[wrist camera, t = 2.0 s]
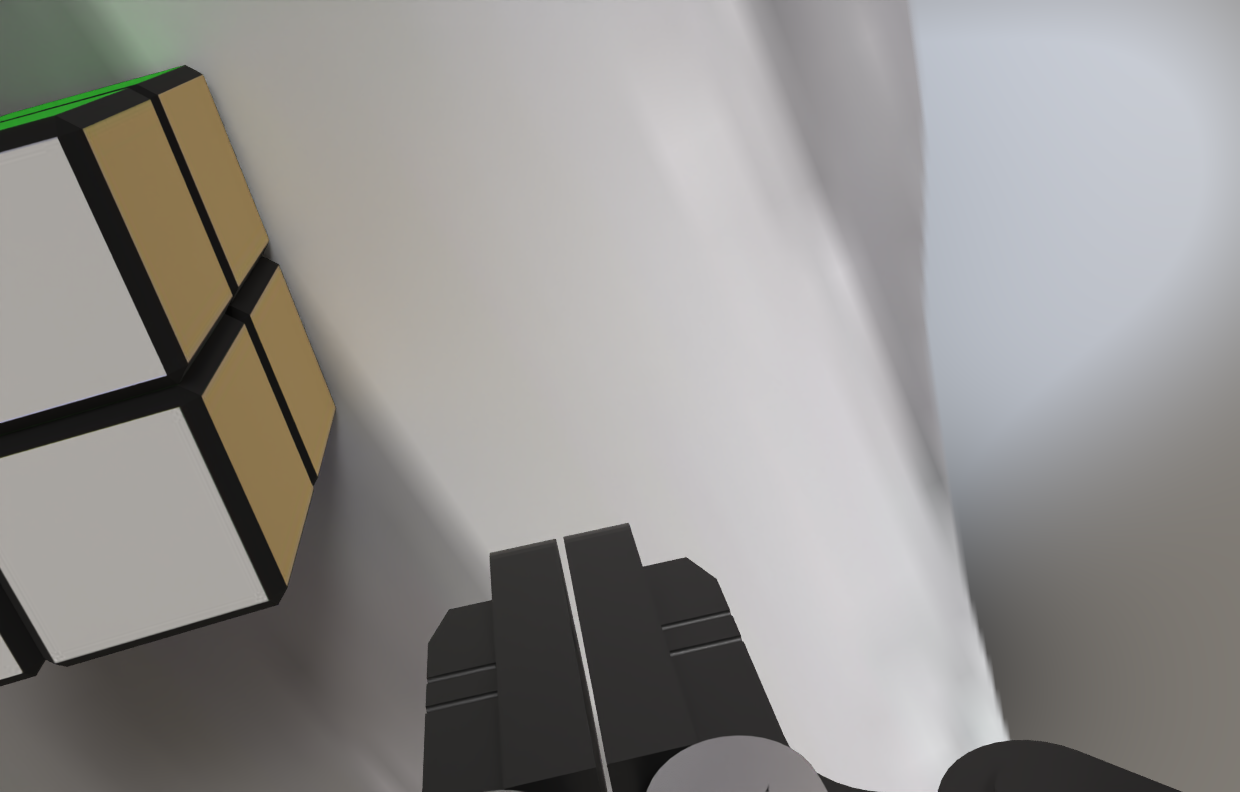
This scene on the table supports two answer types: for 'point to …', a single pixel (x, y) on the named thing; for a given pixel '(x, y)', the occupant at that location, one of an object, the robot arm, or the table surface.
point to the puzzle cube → (142, 379)
